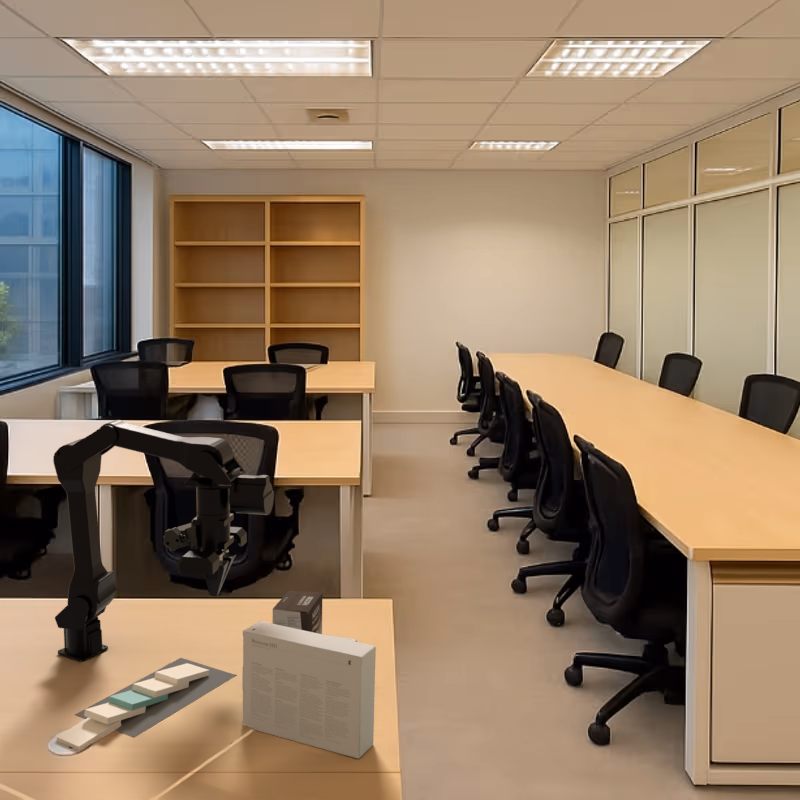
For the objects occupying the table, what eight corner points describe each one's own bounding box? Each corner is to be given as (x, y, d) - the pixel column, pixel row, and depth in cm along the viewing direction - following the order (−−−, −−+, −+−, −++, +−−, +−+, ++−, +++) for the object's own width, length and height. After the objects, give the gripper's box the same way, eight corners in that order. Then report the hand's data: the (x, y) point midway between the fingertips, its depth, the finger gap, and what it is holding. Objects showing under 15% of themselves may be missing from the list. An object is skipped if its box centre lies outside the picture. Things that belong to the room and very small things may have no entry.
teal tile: (145, 691, 149) (108, 702, 142) (145, 686, 149) (109, 696, 142) (167, 699, 147) (131, 710, 140) (168, 693, 147) (132, 704, 140)
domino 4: (186, 668, 158) (154, 677, 151) (187, 663, 158) (155, 672, 151) (208, 675, 155) (176, 685, 148) (209, 669, 155) (177, 679, 148)
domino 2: (122, 704, 145) (84, 715, 138) (123, 698, 145) (84, 709, 138) (145, 712, 142) (107, 724, 135) (145, 706, 142) (108, 717, 135)
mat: (74, 716, 141) (74, 714, 141) (180, 659, 162) (180, 657, 162) (134, 739, 135) (134, 737, 135) (236, 677, 156) (236, 675, 156)
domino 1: (99, 717, 141) (56, 742, 134) (98, 711, 140) (56, 736, 134) (121, 725, 138) (79, 752, 131) (120, 720, 138) (78, 746, 131)
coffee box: (308, 704, 147) (308, 612, 144) (270, 700, 148) (270, 608, 145) (323, 679, 156) (324, 591, 153) (288, 675, 157) (288, 588, 154)
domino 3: (166, 680, 153) (132, 689, 146) (167, 674, 153) (133, 683, 146) (188, 687, 151) (154, 697, 144) (189, 681, 151) (155, 691, 144)
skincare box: (376, 743, 136) (377, 644, 133) (359, 760, 131) (361, 659, 128) (260, 711, 144) (259, 618, 142) (240, 726, 140) (239, 631, 137)
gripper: (190, 494, 166) (191, 574, 169) (146, 523, 148) (149, 612, 151) (247, 498, 165) (248, 578, 167) (210, 527, 146) (212, 617, 149)
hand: (214, 595), depth 158 cm, fingers closed
